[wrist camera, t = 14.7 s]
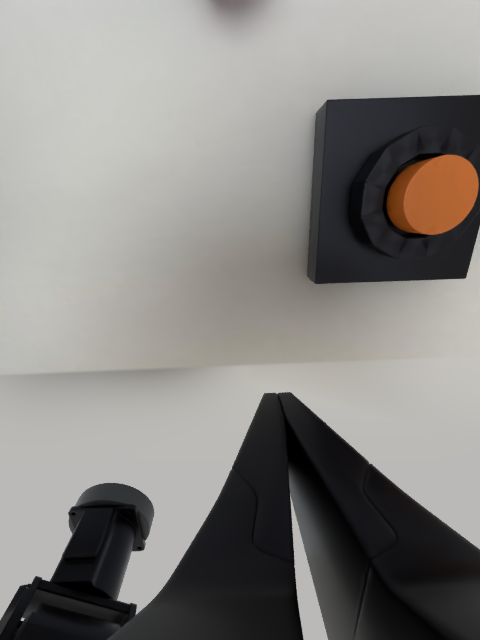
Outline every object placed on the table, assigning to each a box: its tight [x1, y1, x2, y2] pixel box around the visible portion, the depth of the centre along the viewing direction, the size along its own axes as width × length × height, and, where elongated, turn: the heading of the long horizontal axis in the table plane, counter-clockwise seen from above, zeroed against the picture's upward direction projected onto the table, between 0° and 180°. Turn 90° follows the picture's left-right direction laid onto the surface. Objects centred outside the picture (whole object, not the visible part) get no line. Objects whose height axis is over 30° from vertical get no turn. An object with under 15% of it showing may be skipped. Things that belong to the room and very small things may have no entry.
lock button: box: [387, 155, 479, 235], centre depth 15 cm, size 4×4×2 cm
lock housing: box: [307, 95, 480, 284], centre depth 17 cm, size 10×10×4 cm
